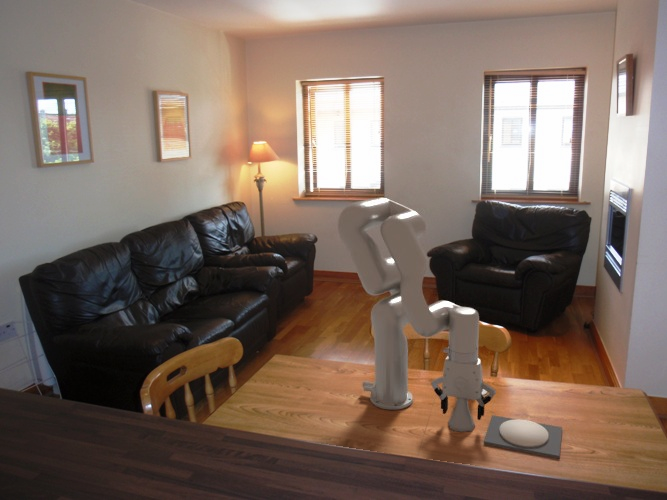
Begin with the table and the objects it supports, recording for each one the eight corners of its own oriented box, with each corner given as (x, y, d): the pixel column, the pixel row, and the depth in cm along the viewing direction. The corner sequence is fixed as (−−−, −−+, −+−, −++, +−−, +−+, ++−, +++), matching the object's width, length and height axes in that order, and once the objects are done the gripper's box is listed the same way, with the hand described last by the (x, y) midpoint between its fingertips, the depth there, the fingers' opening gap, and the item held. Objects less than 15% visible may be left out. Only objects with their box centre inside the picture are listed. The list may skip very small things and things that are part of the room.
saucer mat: (483, 444, 147) (483, 438, 146) (491, 417, 159) (492, 412, 159) (559, 458, 140) (559, 453, 139) (561, 430, 152) (562, 424, 152)
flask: (475, 433, 151) (476, 399, 149) (447, 431, 153) (448, 397, 151) (474, 419, 158) (475, 386, 156) (447, 417, 160) (448, 384, 158)
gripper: (427, 355, 151) (427, 415, 155) (495, 364, 144) (493, 427, 148) (434, 345, 158) (433, 402, 162) (499, 353, 151) (497, 413, 155)
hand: (462, 414), depth 155 cm, fingers open, 8 cm apart
